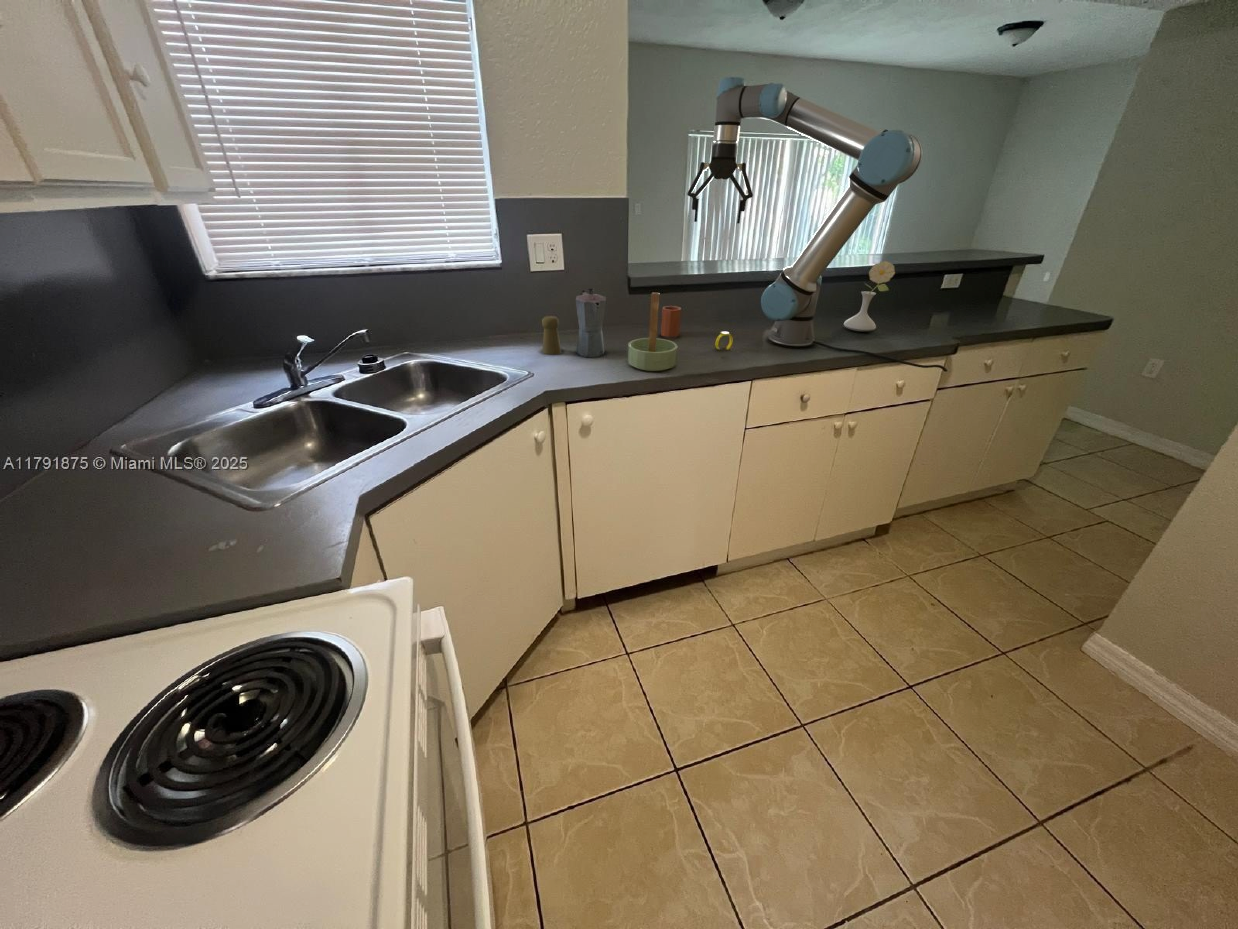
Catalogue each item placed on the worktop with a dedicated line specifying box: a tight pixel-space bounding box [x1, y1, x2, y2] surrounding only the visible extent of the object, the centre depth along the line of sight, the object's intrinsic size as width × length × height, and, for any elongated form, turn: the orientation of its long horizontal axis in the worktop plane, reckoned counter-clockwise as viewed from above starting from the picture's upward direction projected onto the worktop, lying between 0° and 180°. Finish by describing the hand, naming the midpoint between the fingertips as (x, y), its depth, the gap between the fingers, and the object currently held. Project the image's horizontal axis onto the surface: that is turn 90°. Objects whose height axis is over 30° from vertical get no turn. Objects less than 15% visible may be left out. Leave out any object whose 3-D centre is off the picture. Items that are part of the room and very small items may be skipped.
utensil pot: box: [660, 305, 682, 338], centre depth 170 cm, size 6×6×10 cm
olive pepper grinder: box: [541, 315, 562, 356], centre depth 153 cm, size 6×6×11 cm
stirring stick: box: [648, 291, 660, 352], centre depth 142 cm, size 2×2×20 cm
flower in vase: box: [843, 260, 896, 333], centre depth 179 cm, size 13×11×25 cm
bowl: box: [627, 337, 678, 372], centre depth 145 cm, size 15×15×6 cm
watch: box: [714, 330, 734, 351], centre depth 159 cm, size 6×3×6 cm, turn 114°
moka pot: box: [575, 288, 607, 358], centre depth 150 cm, size 10×15×20 cm, turn 27°
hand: (716, 222), depth 156 cm, fingers open, 13 cm apart
